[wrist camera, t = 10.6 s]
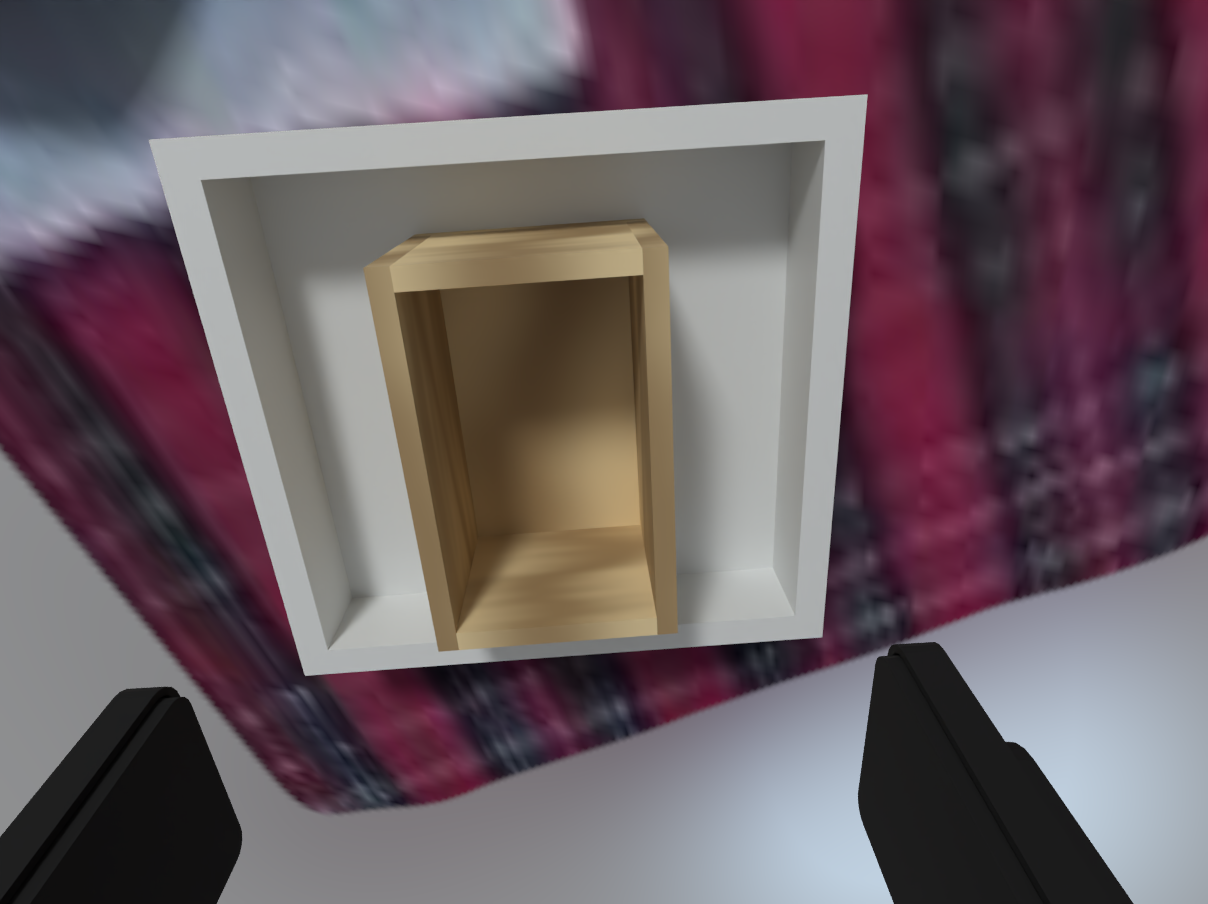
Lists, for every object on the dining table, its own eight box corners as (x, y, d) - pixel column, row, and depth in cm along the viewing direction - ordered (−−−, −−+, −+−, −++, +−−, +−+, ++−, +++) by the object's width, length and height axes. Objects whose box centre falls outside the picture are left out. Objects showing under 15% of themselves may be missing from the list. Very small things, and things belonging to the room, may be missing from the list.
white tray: (817, 101, 22) (867, 94, 18) (790, 573, 29) (822, 637, 25) (220, 138, 21) (148, 139, 18) (339, 605, 28) (305, 675, 25)
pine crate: (644, 218, 22) (668, 246, 16) (655, 529, 26) (677, 633, 21) (415, 234, 22) (363, 268, 16) (466, 543, 26) (438, 651, 21)
